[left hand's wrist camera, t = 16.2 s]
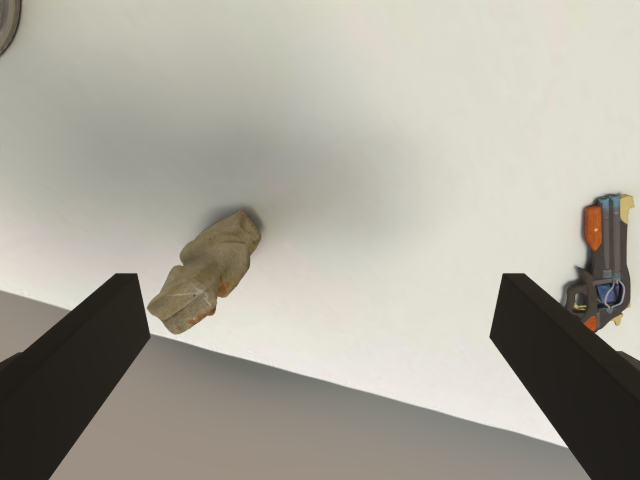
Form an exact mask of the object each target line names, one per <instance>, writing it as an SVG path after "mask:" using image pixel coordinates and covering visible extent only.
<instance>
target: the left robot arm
mask: <svg viewBox="0 0 640 480" xmlns="http://www.w3.org/2000/svg"><path fill="white" fill-rule="evenodd" d="M19 10H20V0H0V54H1V53H2V52H3V51H4V50H5V49H6V47H7V46H8V45H9V43H10V41H11V39H12V38H13V35H14V33H15V30H16V27H17V23H18V18H19ZM149 339H150V332H149V327H148V323H147V318H146V313H145V308H144V304H143V299H142V294H141V289H140V285H139V280H138V275H137V273H116V274H115V275H113V276H112V277H111V278H110V279H109V280H107V281H106V282H105V283H104V284H103V285H102V286H100V287H99V288H98V289H97V290H96V291H94V292H93V293H92V294H91V295H90V296H89V297H87V298H86V299H85V300H84V301H83V302H81V303H80V304H79V305H78V306H77V307H76V308H74V309H73V310H72V311H71V312H70V313H68V314H67V315H66V316H65V317H64V318H63V319H61V320H60V321H59V322H58V323H57V324H56V325H54V326H53V327H52V328H51V329H50V330H48V331H47V332H46V333H45V334H44V335H42V336H41V337H40V338H39V339H38V340H37V341H35V342H34V343H33V344H32V345H31V346H30V347H28V348H27V349H26V350H25V351H24V352H19V353H17V354H15V355H13V356H11V357H9V358H8V359H6V360H4V361H2V362H0V480H49V478H50V477H51V476H52V474H53V473H54V471H55V470H56V469H57V467H58V466H59V464H60V463H61V462H62V460H63V459H64V457H65V456H66V455H67V453H68V452H69V450H70V449H71V448H72V446H73V445H74V443H75V442H76V441H77V439H78V438H79V436H80V435H81V434H82V432H83V431H84V429H85V428H86V427H87V425H88V424H89V423H90V421H91V420H92V418H93V417H94V415H95V414H96V413H97V411H98V410H99V409H100V407H101V406H102V404H103V403H104V402H105V400H106V399H107V397H108V396H109V395H110V393H111V392H112V390H113V389H114V388H115V386H116V385H117V383H118V382H119V381H120V379H121V378H122V376H123V375H124V374H125V372H126V371H127V369H128V368H129V367H130V365H131V364H132V362H133V361H134V360H135V358H136V357H137V355H138V354H139V353H140V351H141V350H142V348H143V347H144V346H145V344H146V343H147V341H148V340H149ZM490 339H491V340H492V342H493V343H494V344H495V346H496V347H497V349H498V350H499V351H500V353H501V354H502V355H503V357H504V358H505V360H506V361H507V362H508V364H509V365H510V367H511V368H512V369H513V371H514V372H515V374H516V375H517V376H518V378H519V379H520V381H521V382H522V383H523V385H524V386H525V388H526V389H527V390H528V392H529V393H530V395H531V396H532V397H533V399H534V400H535V402H536V403H537V404H538V406H539V407H540V409H541V410H542V411H543V413H544V414H545V416H546V417H547V418H548V420H549V421H550V423H551V424H552V425H553V427H554V428H555V429H556V431H557V432H558V434H559V435H560V436H561V438H562V439H563V441H564V442H565V443H566V445H567V446H568V448H569V449H570V450H571V452H572V453H573V455H574V456H575V457H576V459H577V460H578V462H579V463H580V464H581V466H582V467H583V469H584V470H585V471H586V473H587V474H588V476H589V477H590V478H591V480H640V361H639V360H637V359H635V358H633V357H632V356H630V355H628V354H626V353H624V352H622V351H615V350H614V349H613V348H612V347H611V346H609V345H608V344H607V343H606V342H605V341H603V340H602V339H601V338H600V337H599V336H598V335H596V334H595V333H594V332H593V331H592V330H590V329H589V328H588V327H587V326H586V325H585V324H583V323H582V322H581V321H580V320H579V319H577V318H576V317H575V316H574V315H573V314H572V313H570V312H569V311H568V310H567V309H566V308H564V307H563V306H562V305H561V304H560V303H559V302H557V301H556V300H555V299H554V298H553V297H551V296H550V295H549V294H548V293H547V292H546V291H544V290H543V289H542V288H541V287H540V286H538V285H537V284H536V283H535V282H534V281H533V280H531V279H530V278H529V277H528V276H527V275H525V274H524V273H503V275H502V280H501V285H500V289H499V294H498V299H497V304H496V308H495V313H494V318H493V322H492V327H491V332H490Z"/></svg>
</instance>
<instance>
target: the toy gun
mask: <svg viewBox="0 0 640 480" xmlns="http://www.w3.org/2000/svg"><path fill="white" fill-rule="evenodd" d="M633 207H634V202H633V197H632V196H630V195H627V194H623V195H617V194H616V195H609V196H608V198H607V197H603V198H599V201H598V202H597V205H595V206H590V207H587V208H585V239H586V241H587V243H588V244H589V246H590V248H591V249H592V266H591V270H590V272H587V271H586V270H584V269H582V268H578V269H579V271H580V273H581V275H582V279H583V282H582V283H580V284H574V285H572V286H570V287H569V288H568V289H567V301H566V304H565V307H564V308H566V309H567V310H568V311H569V312H570V313H572V314H573V315H576V318H577V319H579V320H580V321H581V322H582V323H583V324H585V325H586V326H587V327H588V328H589V329H590V330H592V331H593V332H594V333H595V332H597V331H598V330H600V329H602V328H603V327H604V326H605V325H606V324H607V323H608V322H609V321H614V322H615V325H616V326H618V325H619V324H620V321H621V318H622V317H623V314H622V313H621V312H622V311H623V310H625V309H626V308H628V307H631V306H630V276H629V271H628V268H627V262H626V251H627V225H628V210H629V208H633ZM612 279H613V281H612ZM614 280H618V284H617V283H615V282H614ZM576 293H583V294H584V305H577V304H576V302H575V294H576ZM597 294H598V295H599V297H600V299H601V300H602V301H600V300H599V299H598V298H597ZM597 300H598V301H600V302H601V304H597ZM614 301H615V302H614ZM573 307H574V308H576V309H579V311H574V310H572V309H573ZM578 307H583V308H578Z"/></svg>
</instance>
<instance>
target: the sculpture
mask: <svg viewBox="0 0 640 480" xmlns="http://www.w3.org/2000/svg"><path fill="white" fill-rule="evenodd" d="M260 239H261V234H260V232H259V230H258V229H257V227H256V226H255V225H254V224H253V223H252V222H251V220H250V219H249V217H248V216H247V215H246V214H245V213H244V211H242V210H240V211H238V212H236V213H235V214H233V215H231V216H229V217H227V218H225V219H222V220H221V221H219V222H217V223H215V224H214V225H212V226H210V227H209V228H207V229H206V230H205V231H203V232H202V233H201V234H199V235H198V236H197V237H196V239H195V240H193V241H191V242H189V243H188V244H187V245H186V246H185V247H184V248H183V249H182V251H181V253H180V260H181V262H182V263H183V265H184V266H179V265H178V266H174V267H173V268H172V269H171V271H170V273H169V275H168V277H167V280H166V282H165V284H164V286H163V288H162V290H161V292H160V293H159V294H158V295H157V296H156V297H155V298H153V299H152V300H151V302H150V303H149V304H148V306H147V309H148V311H149V312H150V313H151V314H152V315H154V316H156V317H158V318H159V319H160V320H161V321H162V322H163V324H164V325H165V327H166V328H167V329H168V330H169V331H170V332H171V333H173V334H180V333H183V332H184V331H186V330H188V329H190V328H191V327H192V326H194V325H195V324H197V323H198V322H200V321H201V320H202V319H203V318H205V317H206V316H212V315H214V313H215V311H216V305H217V296H218V297H221V298H224V297H227V296H228V295H229V294H230V293H231V292H232V290H233V289H234V288H235V287H236V286H237V285H238V283H239V282H240V280H241V279H242V278H243V276H244V275H245V273H246V272H247V271H248V269H249V266H250V255H251V254H252V253H253V252H254V250H255V249H256V247H257V245H258V244H259V242H260Z"/></svg>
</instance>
